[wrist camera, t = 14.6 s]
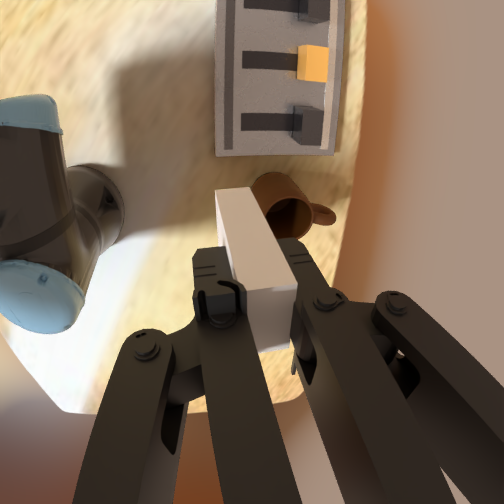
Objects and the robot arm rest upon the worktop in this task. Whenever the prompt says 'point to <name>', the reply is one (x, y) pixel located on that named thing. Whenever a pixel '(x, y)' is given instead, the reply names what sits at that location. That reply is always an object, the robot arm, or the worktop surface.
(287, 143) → the panel
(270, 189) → the mug
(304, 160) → the worktop surface
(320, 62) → the tall orange block
